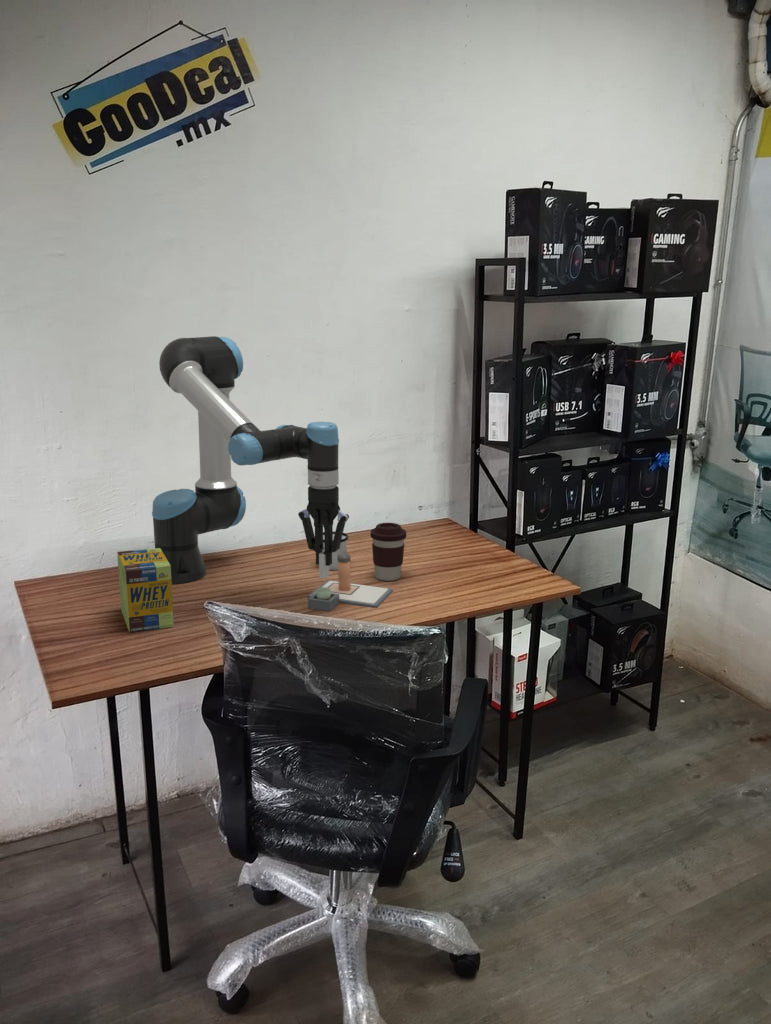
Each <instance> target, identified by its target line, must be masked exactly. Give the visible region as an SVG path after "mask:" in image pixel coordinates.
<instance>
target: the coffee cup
mask: <svg viewBox="0 0 771 1024" xmlns="http://www.w3.org/2000/svg"><path fill="white" fill-rule="evenodd" d="M369 536H370V538H371V539H372V543H371V547H372V561H373V562H372V563H373V565H374V567H373V568H374V569H373V571H374V577H375V578H376V579H377V580H380V581H385V582H392V581H398V580H399V579H400V578H401V577H402V566H403V563H404V552H405V543H404V542H405V539H406V538H407V531H406V529H404V528H402V526H401V525H400V524H398V523H395V522H382V523H378V524H376V526H375V527H374V528H372V529H371V530H370V535H369Z"/></svg>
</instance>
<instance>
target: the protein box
mask: <svg viewBox="0 0 771 1024" xmlns="http://www.w3.org/2000/svg"><path fill="white" fill-rule="evenodd" d="M116 555H117V568H118V581H119V595H120V599H119V600H120V610H121V613H122V615H123V620H124V622H125V624H126V627H127V630H128V632H129V633H138V632H144V631H145V632H146V631H151V630H152V631H153V630H157V629H166V628H173V627H174V623H175V622H174V621H175V620H174V605H173V604H174V603H173V586H172V585H173V584H172V581H171V565H170V564H169V562H168V560H167V559H166V557H165V555H164V554H163V552H162V550H161V549H160V548H155V547H154V548H144V549H134V550H123V551H121V550H120V551H117V553H116Z"/></svg>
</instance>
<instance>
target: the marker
mask: <svg viewBox="0 0 771 1024" xmlns="http://www.w3.org/2000/svg"><path fill="white" fill-rule="evenodd" d="M337 561H338V570H337V571H338V572H337V578H338V580H337V581H338V584H339V590H341V591H348V590H350V589H351V554H348V553H347V554H339V555H338V556H337Z"/></svg>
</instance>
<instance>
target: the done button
mask: <svg viewBox="0 0 771 1024" xmlns="http://www.w3.org/2000/svg"><path fill="white" fill-rule="evenodd" d="M317 588H318V587H317ZM317 588H316V589H317ZM330 598H331V589H330V588H326V587H321V588H318V589H317V599H322V600H329V599H330Z"/></svg>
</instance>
